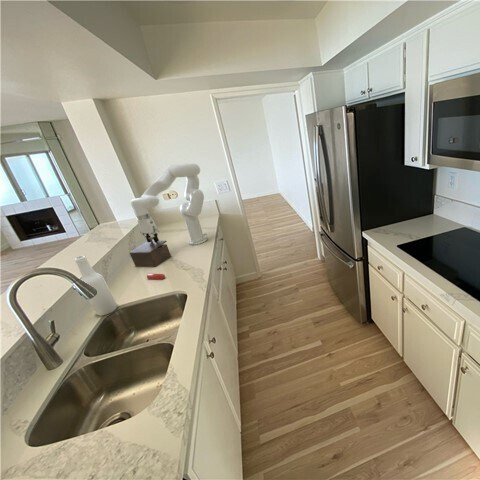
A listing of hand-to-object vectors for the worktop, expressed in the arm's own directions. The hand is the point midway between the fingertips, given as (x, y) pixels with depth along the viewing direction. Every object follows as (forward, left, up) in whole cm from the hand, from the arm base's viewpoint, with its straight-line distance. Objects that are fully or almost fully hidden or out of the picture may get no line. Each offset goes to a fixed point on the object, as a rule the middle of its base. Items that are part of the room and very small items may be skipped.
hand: (153, 241), depth 182 cm
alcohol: (+57, +20, -13) cm, 61 cm away
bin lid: (+5, 0, -2) cm, 6 cm away
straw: (+27, +22, -13) cm, 37 cm away
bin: (+6, 0, -13) cm, 14 cm away
